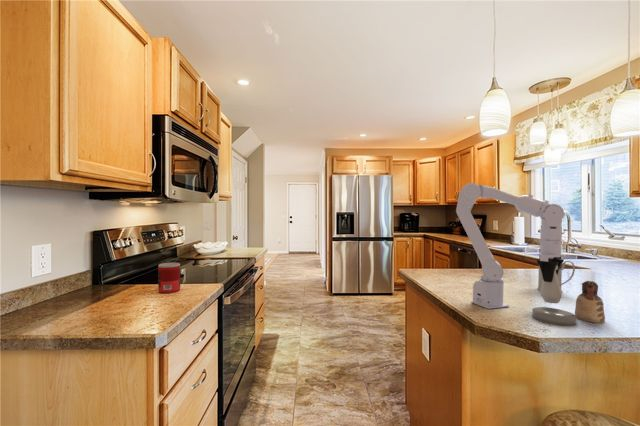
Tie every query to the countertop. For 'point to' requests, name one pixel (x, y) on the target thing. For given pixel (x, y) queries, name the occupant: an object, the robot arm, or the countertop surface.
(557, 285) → the salt shaker
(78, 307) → the countertop surface
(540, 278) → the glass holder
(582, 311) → the figurine
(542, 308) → the coaster
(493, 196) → the robot arm
